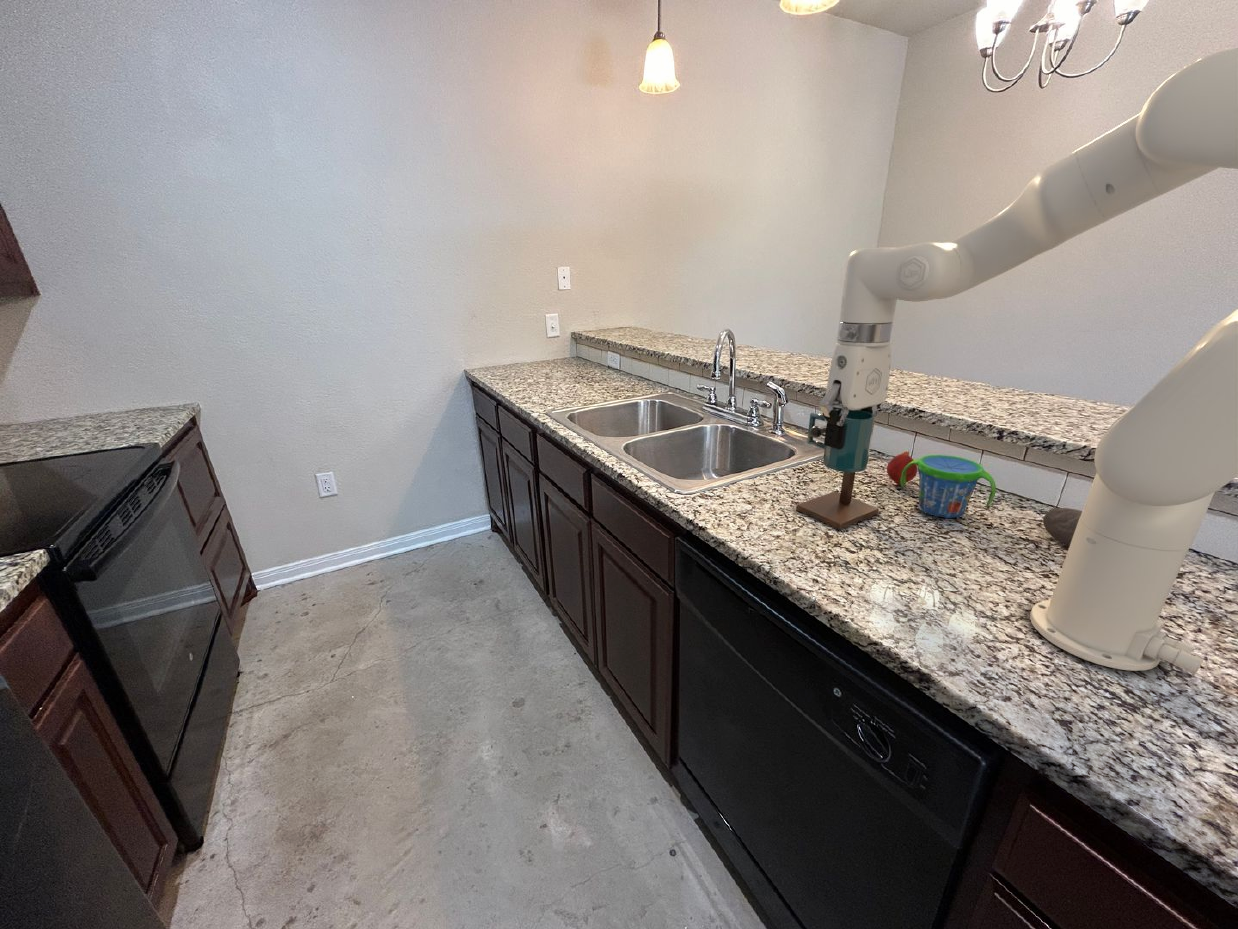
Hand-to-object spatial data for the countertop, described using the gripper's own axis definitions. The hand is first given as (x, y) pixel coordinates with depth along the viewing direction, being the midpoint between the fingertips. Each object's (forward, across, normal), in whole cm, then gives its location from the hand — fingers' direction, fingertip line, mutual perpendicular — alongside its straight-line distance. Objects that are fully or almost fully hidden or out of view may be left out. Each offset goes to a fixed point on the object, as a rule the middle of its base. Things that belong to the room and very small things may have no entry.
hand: (847, 442), depth 83 cm
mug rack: (+18, +6, +6) cm, 20 cm away
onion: (+18, +32, +7) cm, 38 cm away
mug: (+4, 0, +2) cm, 5 cm away
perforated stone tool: (+19, +30, -26) cm, 44 cm away
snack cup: (+19, +26, -5) cm, 33 cm away
